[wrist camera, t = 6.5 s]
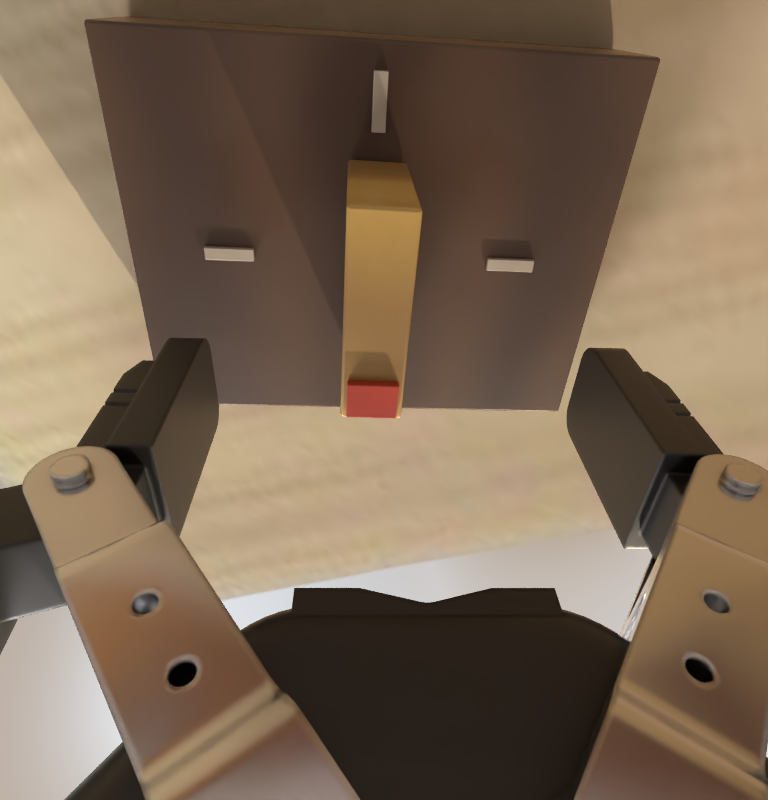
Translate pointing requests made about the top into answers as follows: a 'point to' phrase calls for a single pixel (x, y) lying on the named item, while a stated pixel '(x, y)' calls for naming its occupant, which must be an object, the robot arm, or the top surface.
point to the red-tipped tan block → (378, 286)
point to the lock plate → (327, 197)
